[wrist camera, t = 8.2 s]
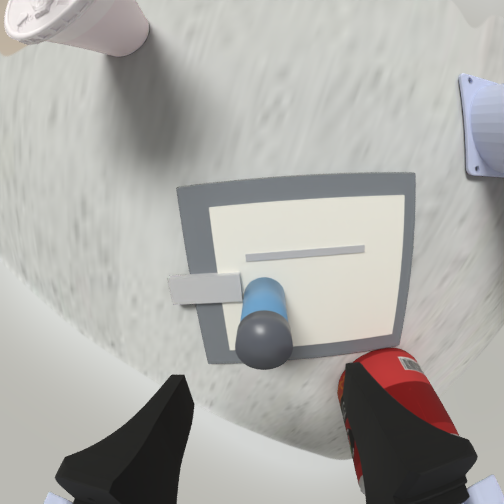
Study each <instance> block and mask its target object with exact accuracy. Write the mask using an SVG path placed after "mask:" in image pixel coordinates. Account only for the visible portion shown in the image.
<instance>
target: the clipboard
mask: <svg viewBox="0 0 504 504" xmlns="http://www.w3.org/2000/svg"><path fill="white" fill-rule="evenodd" d="M415 188H416V182H415V173H404V172H382V173H337V174H314V175H296V176H281V177H268V178H256V179H245V180H234V181H224V182H215V183H206V184H198V185H190V186H182V187H177V188H176V189H177V196H178V203H179V210H180V217H181V224H182V230H183V237H184V243H185V249H186V255H187V261H188V266H189V272H190V274H188V275H172V276H169V277H168V279H167V280H168V285H169V289H170V294H171V298H172V303H173V305H176V304H196V309H197V314H198V319H199V324H200V328H201V333H202V338H203V342H204V347H205V351H206V356H207V360H208V364H220V363H243V362H242V361H241V360H240V359H239V358H238V356H237V354H236V351H235V342H236V335H237V329H238V326H239V323H240V320H241V312H242V305H243V298H244V291H245V288H246V287H247V285H248V284H249V283H250V282H251V281H253V280H255V279H257V278H261V277H268V278H272V279H274V280H276V281H277V282H279V283H280V284H281V286H282V287H283V289H284V293H285V301H286V309H287V317H288V323H289V325H290V328H291V334H292V342H293V351H292V354H291V356H290V358H289V359H288V360H294V359H305V358H315V357H324V356H333V355H341V354H348V353H355V352H362V351H369V350H375V349H381V348H387V347H393V346H398V345H399V343H400V338H401V333H402V328H403V322H404V316H405V310H406V304H407V297H408V290H409V282H410V274H411V264H412V254H413V241H414V225H415Z"/></svg>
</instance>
